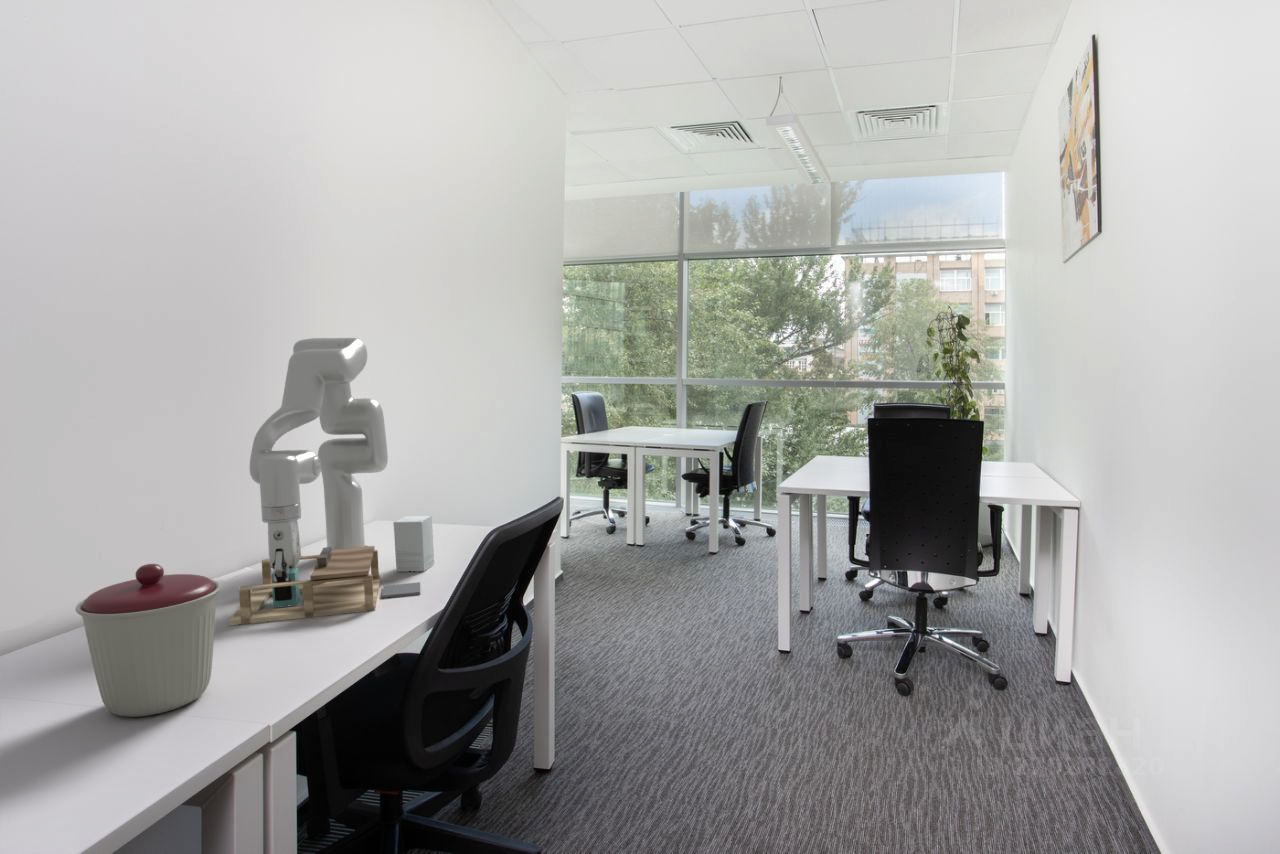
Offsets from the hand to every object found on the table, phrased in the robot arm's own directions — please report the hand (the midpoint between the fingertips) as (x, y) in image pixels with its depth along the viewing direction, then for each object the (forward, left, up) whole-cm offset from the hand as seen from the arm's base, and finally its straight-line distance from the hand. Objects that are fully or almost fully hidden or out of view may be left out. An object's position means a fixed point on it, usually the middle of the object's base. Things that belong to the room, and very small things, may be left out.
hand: (286, 594), depth 160 cm
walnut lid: (0, +12, +6) cm, 13 cm away
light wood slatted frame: (0, +5, -2) cm, 5 cm away
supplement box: (-20, +27, -2) cm, 33 cm away
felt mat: (0, +24, -2) cm, 24 cm away
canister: (+47, -10, -2) cm, 48 cm away
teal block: (0, 0, -2) cm, 2 cm away
